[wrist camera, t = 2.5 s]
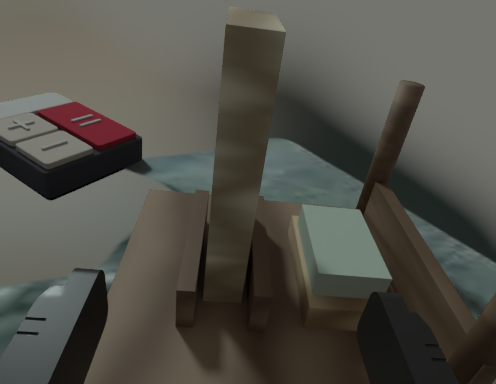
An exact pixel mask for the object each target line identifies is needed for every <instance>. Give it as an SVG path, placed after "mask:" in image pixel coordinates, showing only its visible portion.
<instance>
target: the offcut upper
mask: <svg viewBox="0 0 496 384" xmlns="http://www.w3.org/2000/svg"><path fill="white" fill-rule="evenodd" d="M297 225H298V230H299V235H300V239H301V244H302V249H303V254H304V259H305V263H306V268H307V273H308V278H309V283H310V287H311V292H312V295H322V296H335V297H348V298H362V299H369V297H370V295H371V293H372V292H387V289H388V287H389V285H390V283H391V281H392V277H391V275H390V273H389V271H388V269H387V267H386V265H385V262H384V260H383V258H382V256H381V254H380V252H379V250H378V248H377V245H376V243H375V241H374V239H373V237H372V235H371V233H370V230H369V228H368V226H367V224H366V222H365V220H364V218H363V215H362V213H361V211H360V210H358V209H347V208H336V207H326V206H315V205H305V204H302V206H301V210H300V214H299V218H298V222H297Z"/></svg>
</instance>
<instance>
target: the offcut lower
mask: <svg viewBox="0 0 496 384" xmlns="http://www.w3.org/2000/svg"><path fill="white" fill-rule="evenodd" d="M298 218H299V216H293V215H292V217H291V221H290V225H289V230H288V238H289V244H290V250H291V256H292V262H293V268H294V274H295V280H296V286H297V292H298V298H299V304H300V310H301V316H302V322H303V328H315V329H330V330H345V331H357V326H358V322H359V320H360V318H361V315H362V313H363V311H364V308H365V306H366V304H367V301H368V299H362V298H348V297H335V296H322V295H312V292H311V287H310V283H309V278H308V273H307V268H306V263H305V259H304V254H303V249H302V244H301V239H300V235H299V230H298V225H297V222H298Z"/></svg>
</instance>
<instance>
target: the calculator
mask: <svg viewBox="0 0 496 384" xmlns="http://www.w3.org/2000/svg"><path fill="white" fill-rule="evenodd" d="M141 159H142V138H141V137H140V136H138V135H137V134H136V133H135V132H134V131H133V130H131V129H128V128H127V127H124V126H123V125H121V124H119V123H117V122H115V121H113V120H111V119H109V118H107V117H105V116H103V115H101V114H99V113H97V112H95V111H93V110H91V109H89V108H87V107H85V106H84V105H82V104H80V103H77V102H72V101H71V100H69V99H67V98H65V97H63V96H61V95H59V94H57V93H55V92H51V93H46V94H41V95H36V96H31V97H26V98H21V99H16V100H11V101H7V102H1V103H0V167H1V168H3V169H4V170H5V171H7V172H8V173H10V174H11V175H13V176H14V177H15V178H17V179H18V180H20V181H21V182H22V183H24V184H26V185H27V186H28V187H30V188H31V189H32V190H34V191H35V192H37V193H38V194H40V195H41V196H42V197H44V198H45V199H47V200H50V201H51V200H55V199H57V198H60V197H62V196H64V195H66V194H69V193H71V192H74V191H76V190H78V189H80V188H83V187H85V186H87V185H89V184H92V183H94V182H96V181H99V180H101V179H103V178H106V177H108V176H110V175H112V174H115V173H117V172H119V171H121V170H124V167H126V166H128V165H131V164H133V163H135V162H137V161H140V160H141Z"/></svg>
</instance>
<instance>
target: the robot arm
mask: <svg viewBox="0 0 496 384" xmlns="http://www.w3.org/2000/svg"><path fill="white" fill-rule="evenodd" d="M107 316H108V298H107V290H106V282H105V274H104V271H103V270H94V269H80V268H76V269H74V270H73V271H72V273H71V275H70V276H69V278H68V280H67V282H66V284H65V286H51V287H50V288H49V289H48V290H47V291H46V292H44V293H43V294H42V295H41V296H40V297H38V298H37V299H36V300H35V302H34V304H33V305H32V307H31V309H30V310H29V312H28V314H27V315H26V319H25V320H23V322H22V324H21V325H20V327H19V329H18V330H17V334H16V335H14V337H13V338H12V340H11V342H10V343H9V345H8V347H7V348H6V350H5V352H4V353H3V355H2V357H1V358H0V384H84V382H85V379H86V376H87V374H88V371H89V368H90V366H91V363H92V360H93V358H94V355H95V352H96V349H97V347H98V344H99V341H100V339H101V336H102V333H103V331H104V328H105V325H106V321H107ZM357 341H358V345H359V348H360V352H361V355H362V358H363V362H364V365H365V368H366V372H367V375H368V378H369V382H370V384H459V382H458V380H457V378H456V376H455V375H454V373H453V371H452V369H451V367H450V365H449V363H448V362H446V357H445V355H444V353H443V351H442V349H441V348H439V343H438V341H437V339H436V337H435V335H434V333H433V332H432V330H431V328H430V327H429V326H428V324H427V323H426V322H425V321H424V320H423V319H422V318H421V317H420V316H419V315H418V314H417V313H415V312H409V310H408V308H407V306H406V304H405V302H404V300H403V298H402V296H401V295H400V294H398V293H387V292H372V293H371V295H370V297H369V299H368V301H367V304H366V306H365V308H364V311H363V313H362V315H361V318H360V320H359V322H358V326H357Z"/></svg>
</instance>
